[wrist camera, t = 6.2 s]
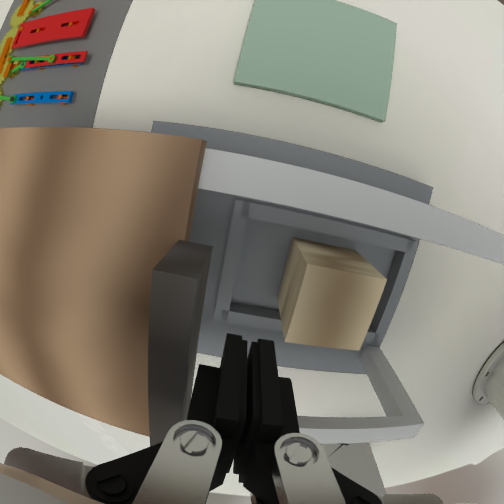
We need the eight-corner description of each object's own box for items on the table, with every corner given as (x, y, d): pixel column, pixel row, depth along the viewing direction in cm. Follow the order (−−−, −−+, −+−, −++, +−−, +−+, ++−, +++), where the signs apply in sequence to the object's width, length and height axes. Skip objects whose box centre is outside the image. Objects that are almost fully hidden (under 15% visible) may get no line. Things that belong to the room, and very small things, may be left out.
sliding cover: (234, 146, 10) (223, 135, 6) (188, 432, 14) (177, 487, 11) (-28, 131, 9) (-78, 134, 5) (-8, 357, 14) (-38, 387, 10)
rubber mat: (393, 26, 18) (396, 23, 17) (381, 122, 21) (385, 121, 20) (259, -12, 17) (259, -17, 16) (234, 84, 20) (233, 81, 19)
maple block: (355, 250, 22) (387, 279, 16) (336, 308, 23) (359, 350, 17) (292, 236, 21) (307, 264, 16) (277, 298, 23) (284, 341, 17)
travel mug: (327, 423, 30) (360, 571, 11) (373, 424, 30) (419, 554, 11) (308, 451, 32) (328, 582, 13) (351, 452, 32) (383, 570, 13)
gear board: (15, -21, 12) (151, -57, 14) (25, -15, 15) (158, -44, 16) (-29, 324, 25) (77, 378, 26) (-18, 317, 27) (86, 366, 29)
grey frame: (420, 184, 22) (521, 209, 11) (360, 362, 27) (401, 451, 16) (161, 123, 21) (80, 94, 9) (138, 325, 26) (85, 415, 14)
